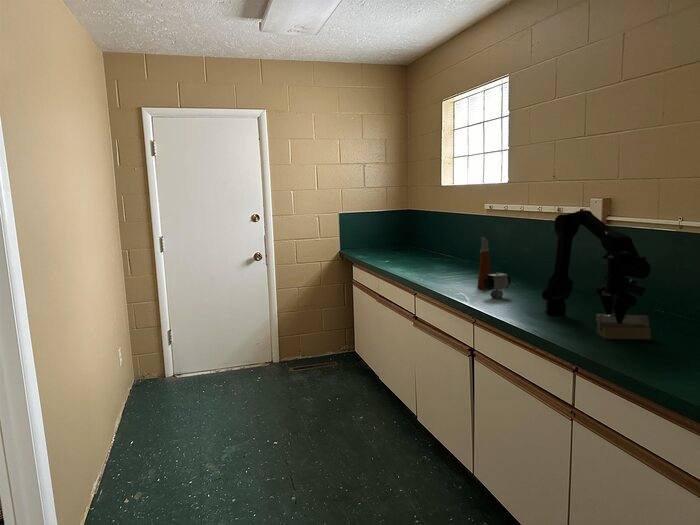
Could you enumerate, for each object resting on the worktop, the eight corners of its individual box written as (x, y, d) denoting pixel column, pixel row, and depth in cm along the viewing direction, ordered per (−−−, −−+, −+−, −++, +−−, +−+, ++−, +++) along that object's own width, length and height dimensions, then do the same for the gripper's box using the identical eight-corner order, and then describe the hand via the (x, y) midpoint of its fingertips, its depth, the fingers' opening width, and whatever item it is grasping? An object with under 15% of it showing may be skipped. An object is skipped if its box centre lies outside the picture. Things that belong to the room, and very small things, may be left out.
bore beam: (605, 329, 168) (606, 321, 167) (595, 321, 177) (596, 313, 177) (630, 330, 166) (630, 321, 166) (619, 322, 176) (619, 314, 176)
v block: (604, 338, 158) (604, 328, 158) (596, 332, 165) (597, 322, 164) (650, 339, 156) (651, 329, 155) (641, 333, 163) (641, 323, 162)
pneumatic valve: (482, 298, 220) (483, 272, 218) (503, 295, 224) (504, 270, 222) (490, 300, 215) (490, 274, 213) (511, 298, 219) (512, 272, 217)
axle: (603, 328, 159) (603, 316, 158) (598, 324, 163) (599, 313, 162) (648, 329, 157) (649, 317, 156) (643, 325, 161) (644, 314, 160)
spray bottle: (472, 290, 237) (473, 237, 233) (479, 286, 246) (480, 235, 242) (486, 291, 233) (487, 237, 229) (493, 287, 242) (494, 235, 238)
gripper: (656, 279, 147) (653, 328, 150) (631, 269, 166) (628, 312, 168) (617, 279, 149) (614, 327, 151) (596, 269, 167) (594, 312, 170)
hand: (614, 319), depth 160 cm, fingers open, 9 cm apart
